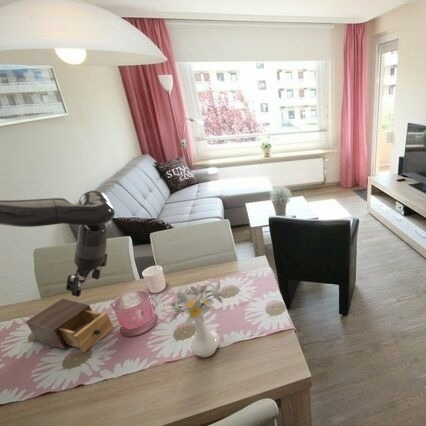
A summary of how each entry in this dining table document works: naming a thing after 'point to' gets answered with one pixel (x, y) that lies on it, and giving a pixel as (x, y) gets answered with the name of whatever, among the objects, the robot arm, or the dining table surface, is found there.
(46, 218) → the robot arm
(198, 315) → the flower vase
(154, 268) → the white cup
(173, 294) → the dining table surface
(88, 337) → the wooden drawer with knob
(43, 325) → the wooden drawer box
